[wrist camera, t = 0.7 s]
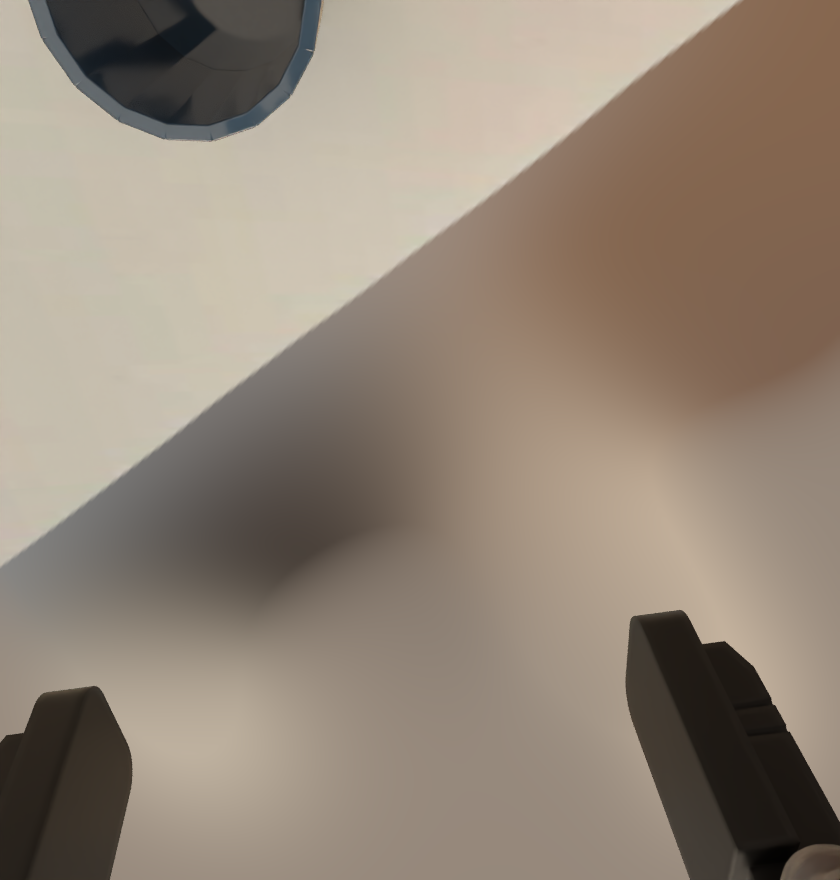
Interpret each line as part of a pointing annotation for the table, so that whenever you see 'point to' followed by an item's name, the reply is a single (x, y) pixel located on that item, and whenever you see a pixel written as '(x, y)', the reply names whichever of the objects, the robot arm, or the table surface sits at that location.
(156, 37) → the pen cup
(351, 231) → the table surface
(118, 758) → the robot arm
